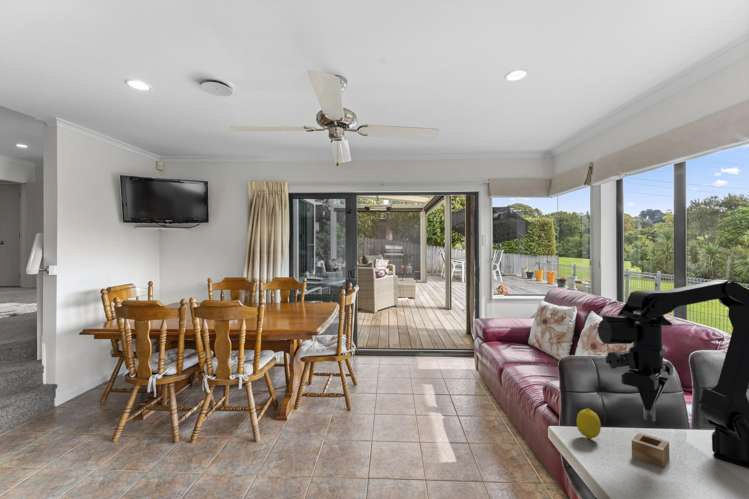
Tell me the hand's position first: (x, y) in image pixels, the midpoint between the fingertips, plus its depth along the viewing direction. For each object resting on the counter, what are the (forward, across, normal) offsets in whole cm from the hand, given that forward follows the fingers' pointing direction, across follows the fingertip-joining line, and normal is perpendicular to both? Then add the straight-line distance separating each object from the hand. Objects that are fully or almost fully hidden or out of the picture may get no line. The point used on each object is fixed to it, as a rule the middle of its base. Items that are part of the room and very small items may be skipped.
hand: (649, 408), depth 86 cm
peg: (+2, 0, 0) cm, 2 cm away
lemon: (+12, +2, -13) cm, 18 cm away
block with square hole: (+12, 0, 0) cm, 12 cm away
